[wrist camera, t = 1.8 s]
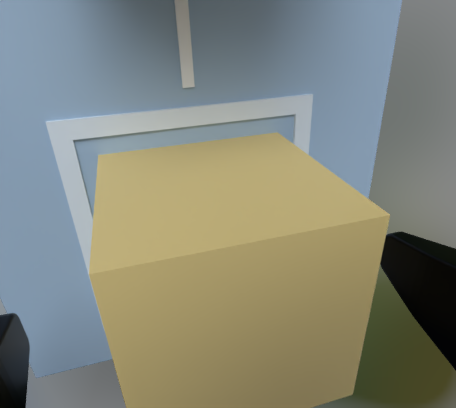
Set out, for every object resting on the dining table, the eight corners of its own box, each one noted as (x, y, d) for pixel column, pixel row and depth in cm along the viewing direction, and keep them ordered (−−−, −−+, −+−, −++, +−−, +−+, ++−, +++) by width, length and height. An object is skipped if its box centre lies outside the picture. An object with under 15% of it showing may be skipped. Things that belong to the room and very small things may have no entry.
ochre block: (273, 268, 13) (353, 394, 9) (129, 299, 12) (141, 461, 8) (277, 132, 11) (390, 214, 6) (97, 154, 9) (88, 274, 5)
